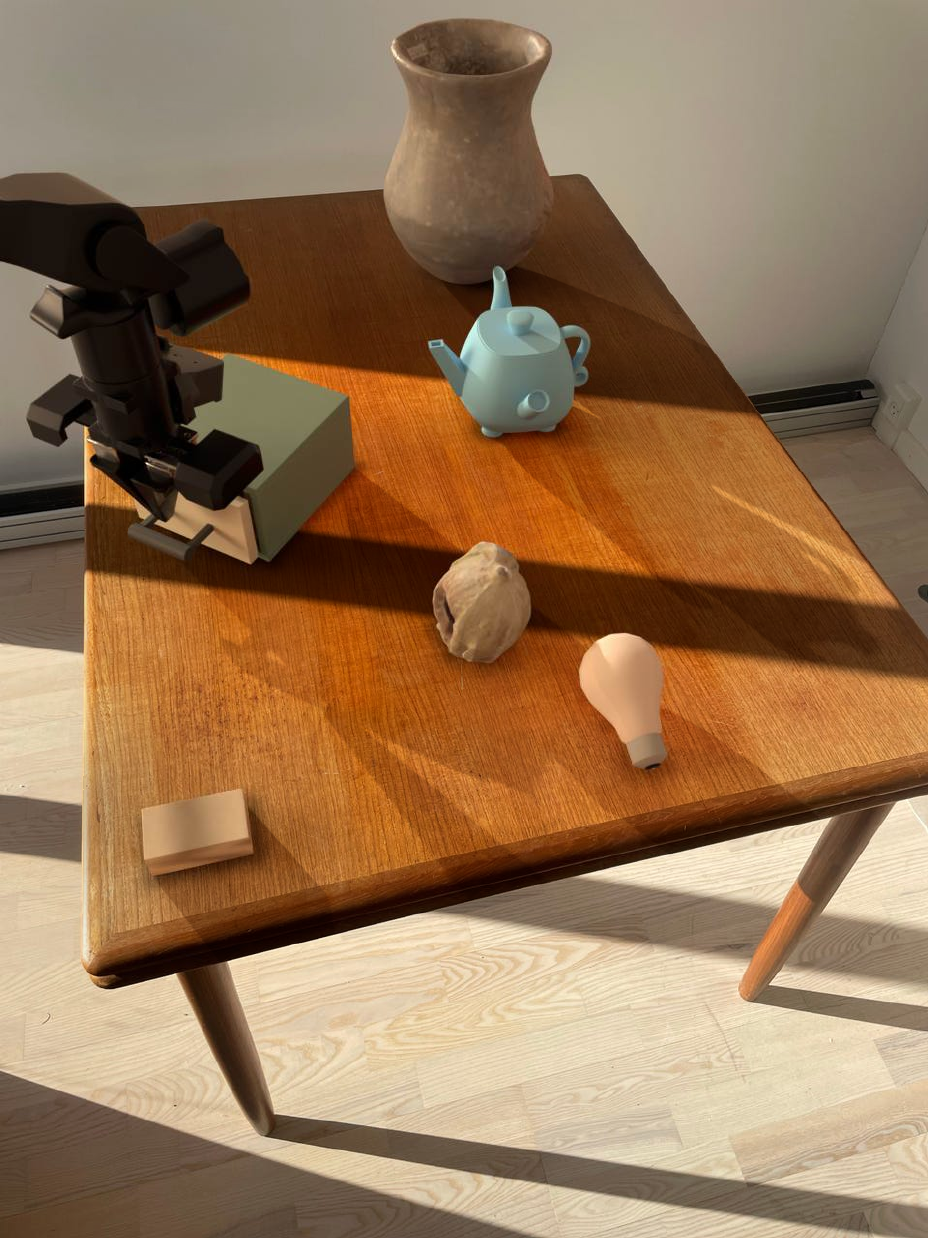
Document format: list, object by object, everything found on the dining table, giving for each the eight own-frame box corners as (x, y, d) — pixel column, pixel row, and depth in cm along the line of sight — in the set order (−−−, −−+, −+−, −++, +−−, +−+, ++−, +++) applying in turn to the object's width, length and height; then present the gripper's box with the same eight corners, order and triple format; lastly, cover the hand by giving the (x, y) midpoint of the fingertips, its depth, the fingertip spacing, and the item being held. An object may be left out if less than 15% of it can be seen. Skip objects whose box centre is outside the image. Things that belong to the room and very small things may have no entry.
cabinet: (269, 562, 86) (256, 490, 80) (148, 511, 90) (125, 438, 84) (355, 467, 95) (349, 395, 88) (240, 424, 99) (227, 352, 92)
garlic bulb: (467, 616, 86) (474, 513, 81) (550, 648, 82) (563, 541, 77) (403, 660, 79) (407, 549, 74) (490, 697, 75) (500, 583, 70)
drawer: (221, 597, 82) (207, 540, 77) (107, 547, 86) (86, 489, 81) (333, 475, 93) (328, 418, 87) (227, 434, 96) (216, 377, 91)
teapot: (412, 413, 100) (411, 317, 92) (491, 354, 108) (497, 260, 99) (532, 477, 95) (543, 380, 86) (607, 409, 102) (624, 314, 93)
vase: (372, 303, 113) (361, 74, 94) (400, 223, 126) (395, 6, 107) (540, 319, 112) (563, 91, 93) (551, 237, 125) (573, 20, 105)
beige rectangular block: (247, 805, 71) (242, 787, 69) (254, 854, 68) (249, 837, 66) (149, 826, 69) (141, 808, 67) (152, 876, 67) (144, 860, 65)
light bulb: (701, 746, 69) (651, 610, 73) (613, 771, 69) (568, 633, 73) (690, 767, 75) (645, 640, 79) (609, 790, 75) (568, 661, 79)
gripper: (292, 341, 72) (312, 497, 84) (96, 274, 77) (140, 430, 89) (200, 424, 65) (235, 580, 77) (-8, 345, 71) (55, 503, 82)
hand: (166, 518), depth 82 cm, fingers closed
